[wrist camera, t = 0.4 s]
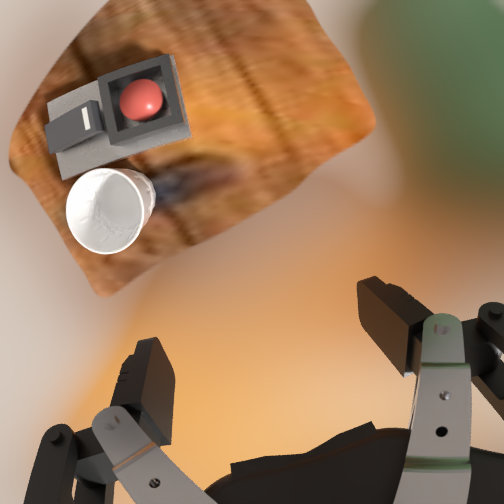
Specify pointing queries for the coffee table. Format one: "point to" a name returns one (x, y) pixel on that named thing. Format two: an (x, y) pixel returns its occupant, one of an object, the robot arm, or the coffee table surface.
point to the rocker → (74, 126)
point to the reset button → (141, 100)
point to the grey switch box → (124, 117)
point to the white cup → (109, 208)
